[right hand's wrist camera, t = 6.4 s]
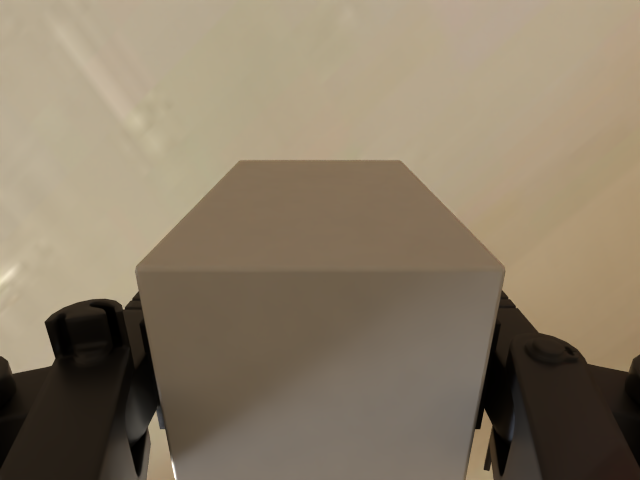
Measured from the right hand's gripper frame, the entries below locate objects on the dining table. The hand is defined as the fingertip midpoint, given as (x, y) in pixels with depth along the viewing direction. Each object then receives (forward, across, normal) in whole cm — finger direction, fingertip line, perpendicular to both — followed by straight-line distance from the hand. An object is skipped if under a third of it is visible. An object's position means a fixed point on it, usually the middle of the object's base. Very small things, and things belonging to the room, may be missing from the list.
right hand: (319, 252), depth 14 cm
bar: (+1, 0, -8) cm, 8 cm away
